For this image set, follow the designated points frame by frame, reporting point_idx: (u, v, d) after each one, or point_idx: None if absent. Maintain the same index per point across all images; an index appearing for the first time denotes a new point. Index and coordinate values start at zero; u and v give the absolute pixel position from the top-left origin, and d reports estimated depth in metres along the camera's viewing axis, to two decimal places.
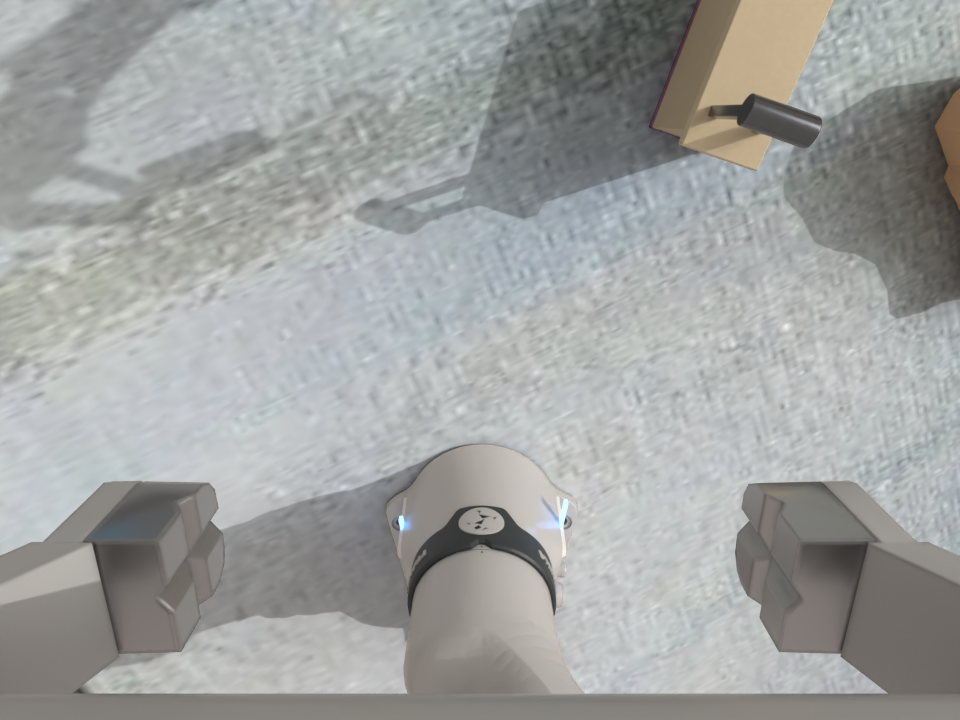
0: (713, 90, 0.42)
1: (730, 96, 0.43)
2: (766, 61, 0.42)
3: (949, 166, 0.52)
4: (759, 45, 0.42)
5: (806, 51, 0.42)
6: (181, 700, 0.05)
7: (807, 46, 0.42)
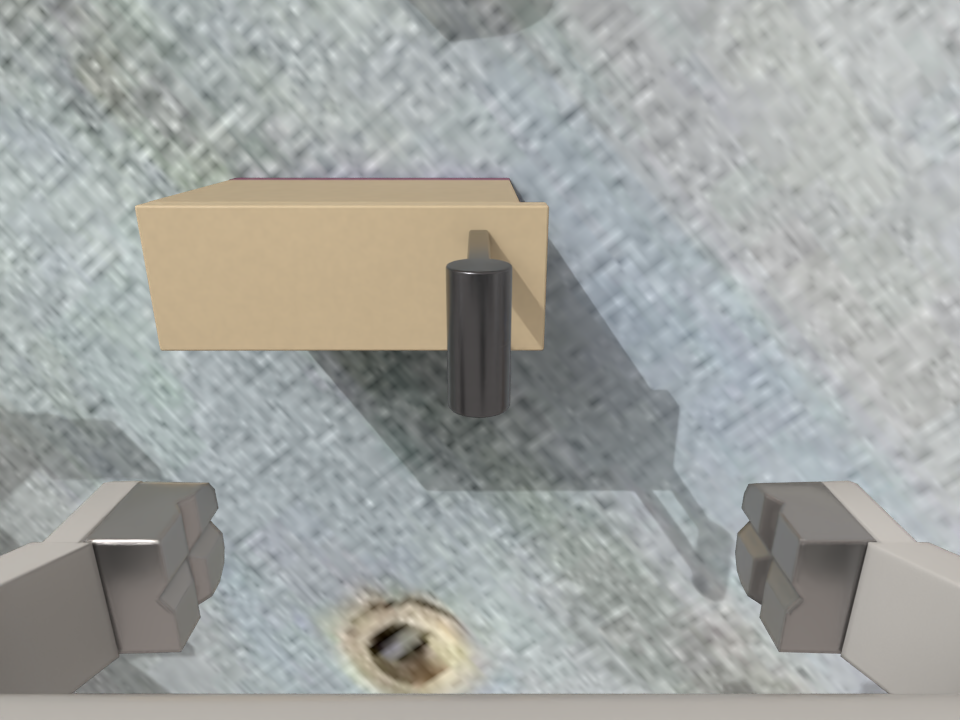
0: None
1: None
2: (376, 273, 0.24)
3: None
4: (359, 294, 0.25)
5: (337, 213, 0.24)
6: (180, 702, 0.05)
7: (329, 215, 0.24)
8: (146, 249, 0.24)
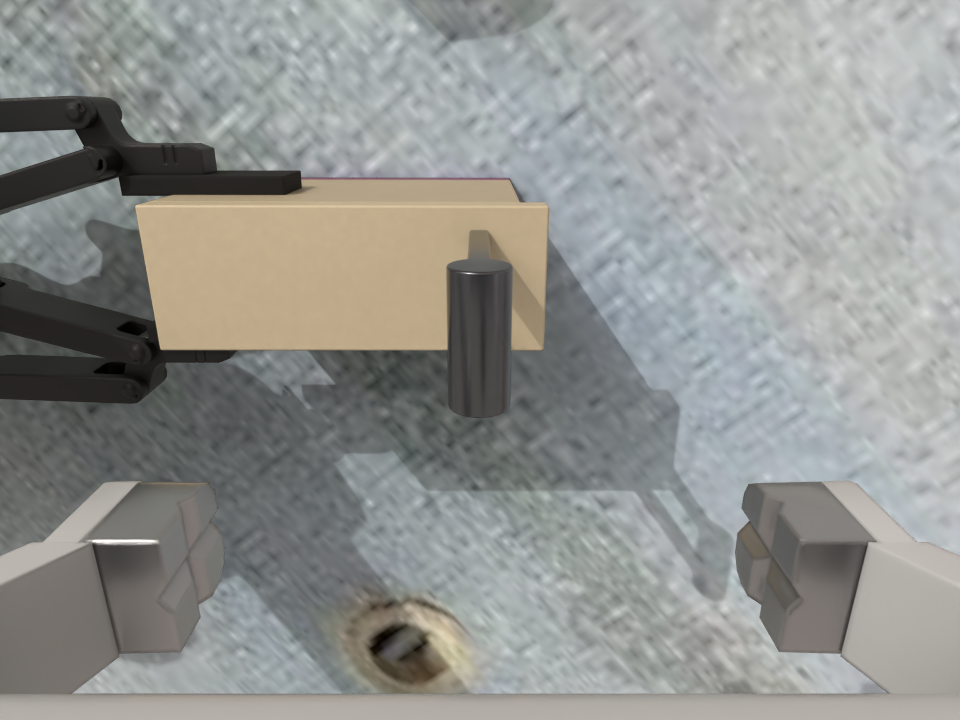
0: None
1: (447, 306, 0.25)
2: (376, 273, 0.24)
3: None
4: (359, 294, 0.25)
5: (337, 212, 0.24)
6: (180, 702, 0.05)
7: (330, 215, 0.24)
8: (146, 249, 0.24)
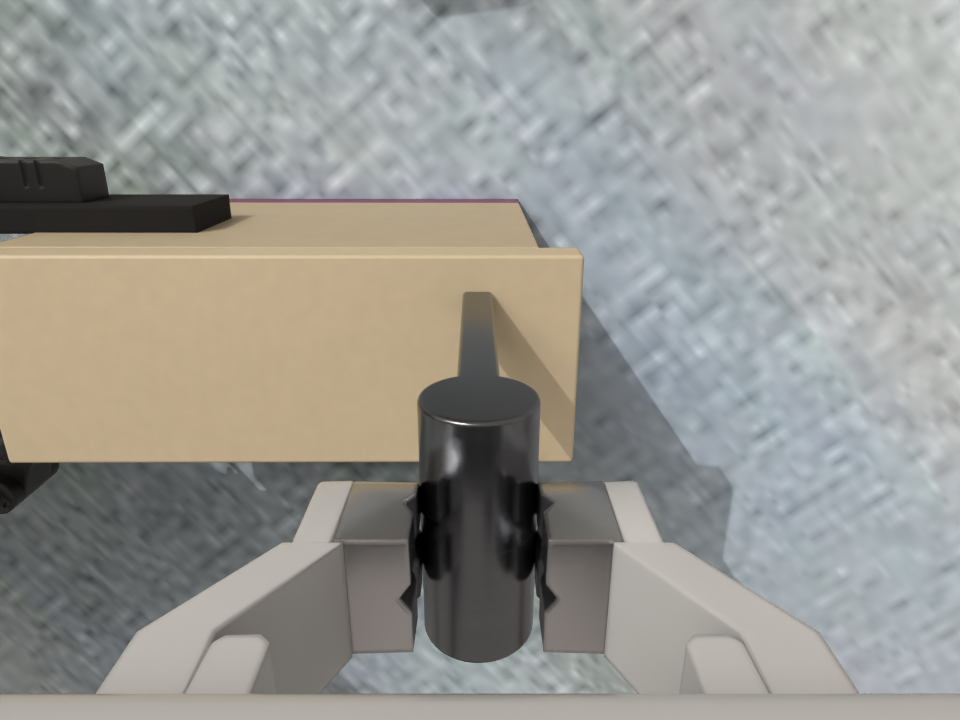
0: None
1: None
2: (324, 354, 0.16)
3: None
4: (299, 384, 0.17)
5: (261, 266, 0.15)
6: (180, 702, 0.05)
7: (250, 270, 0.16)
8: None
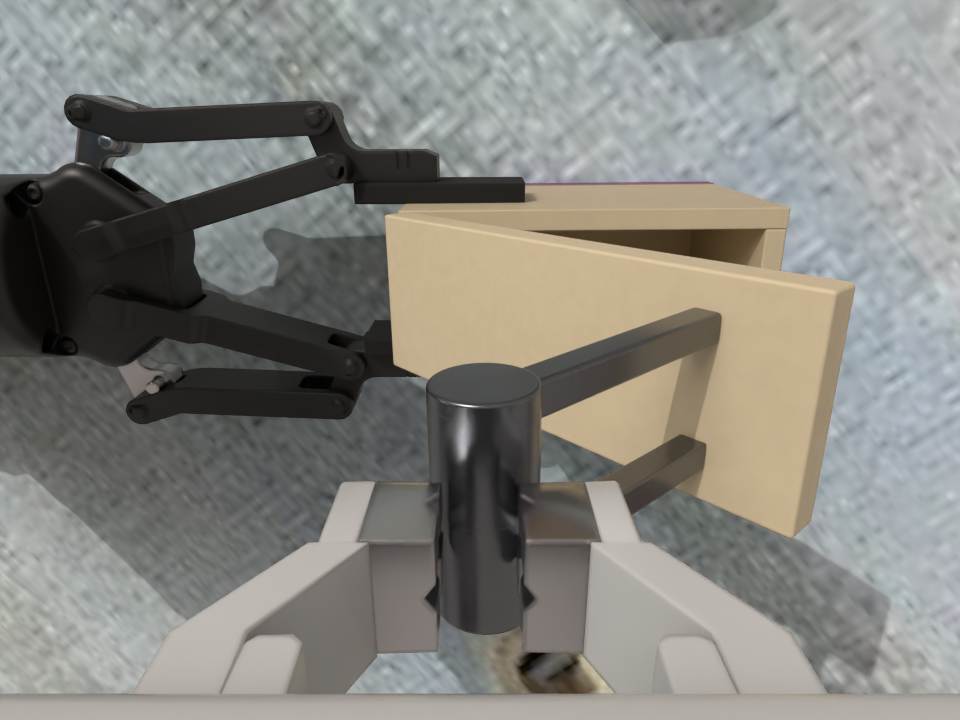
0: None
1: (651, 412, 0.16)
2: (571, 339, 0.17)
3: None
4: None
5: (537, 250, 0.18)
6: (181, 702, 0.05)
7: (530, 252, 0.18)
8: (388, 260, 0.23)
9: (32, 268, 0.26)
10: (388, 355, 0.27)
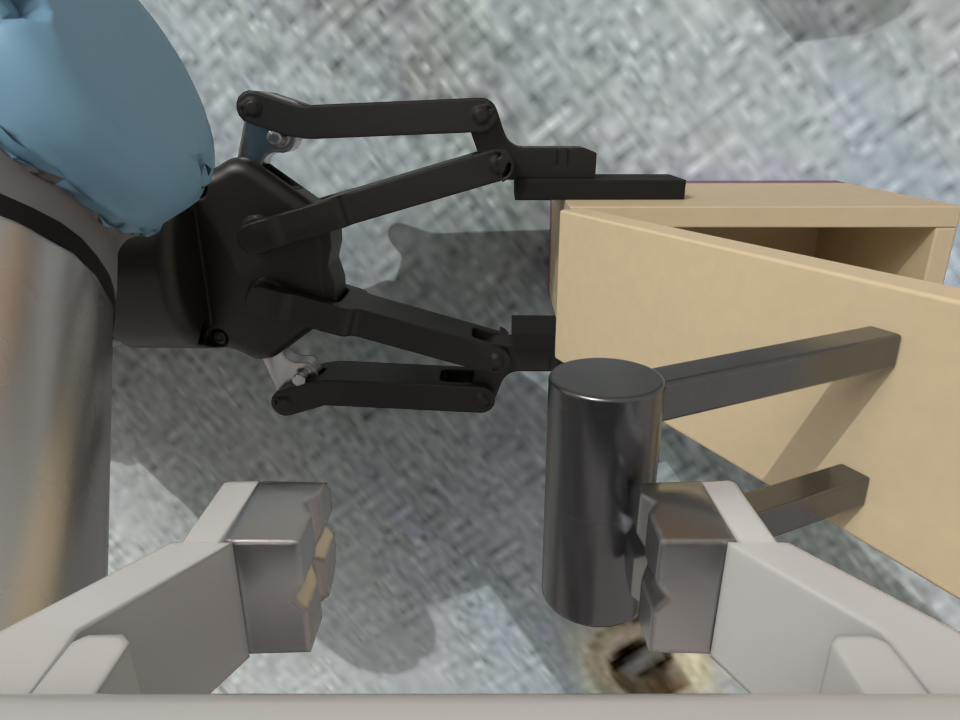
0: None
1: (810, 436, 0.15)
2: (732, 348, 0.17)
3: None
4: None
5: (705, 253, 0.17)
6: (181, 702, 0.05)
7: (697, 255, 0.17)
8: (559, 255, 0.23)
9: (194, 261, 0.27)
10: (535, 349, 0.28)
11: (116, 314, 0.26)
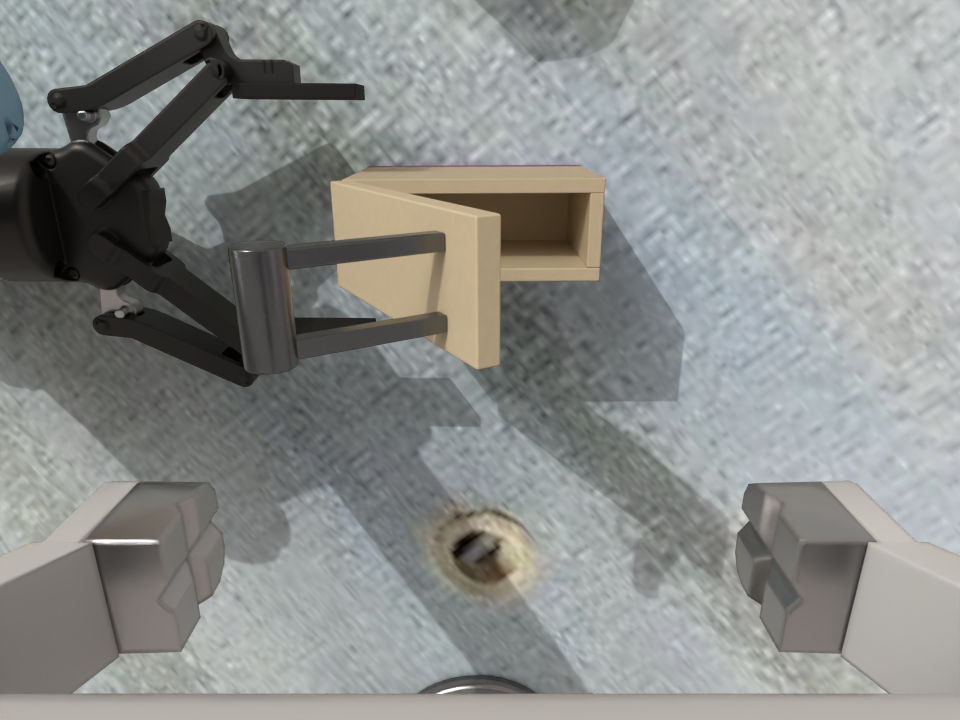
0: None
1: (429, 299, 0.26)
2: (400, 257, 0.28)
3: None
4: (394, 272, 0.29)
5: (385, 200, 0.28)
6: (180, 702, 0.05)
7: (383, 202, 0.28)
8: (333, 212, 0.34)
9: (48, 215, 0.37)
10: None
11: None
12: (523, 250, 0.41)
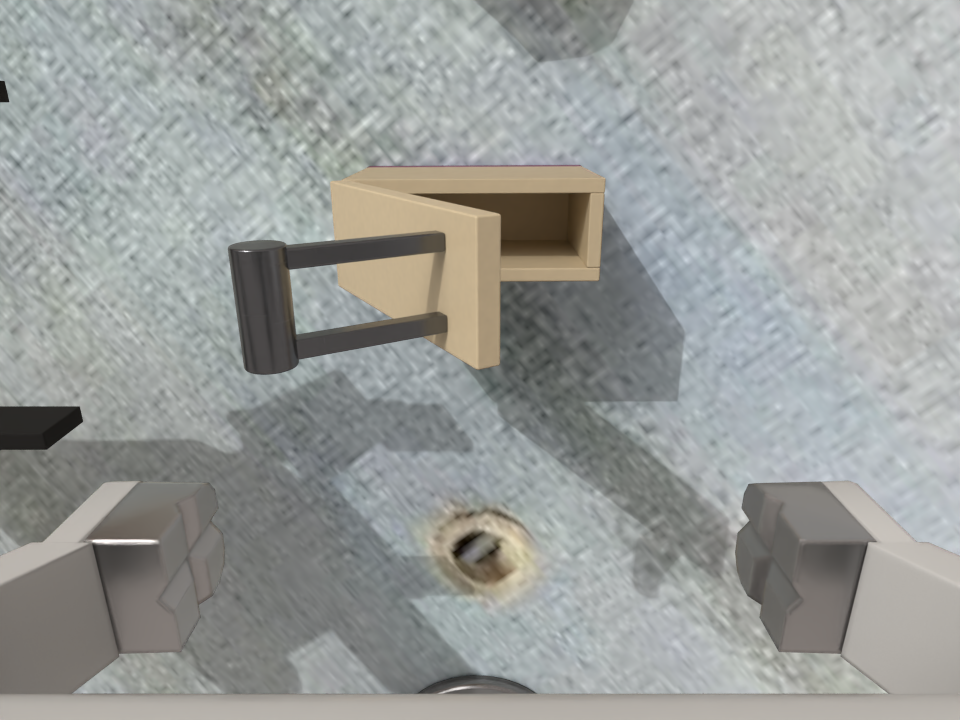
0: None
1: (429, 299, 0.26)
2: (400, 257, 0.28)
3: None
4: (394, 272, 0.29)
5: (385, 200, 0.28)
6: (180, 702, 0.05)
7: (383, 202, 0.28)
8: (333, 212, 0.34)
9: None
10: None
11: None
12: (523, 250, 0.41)
